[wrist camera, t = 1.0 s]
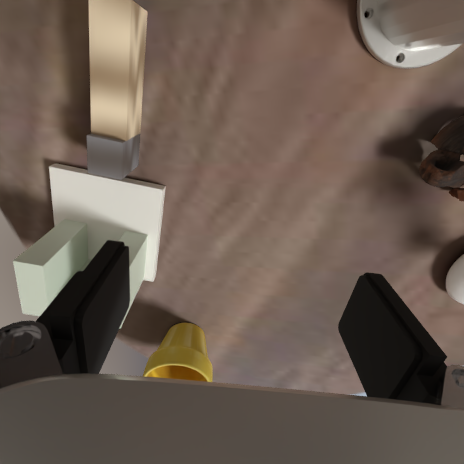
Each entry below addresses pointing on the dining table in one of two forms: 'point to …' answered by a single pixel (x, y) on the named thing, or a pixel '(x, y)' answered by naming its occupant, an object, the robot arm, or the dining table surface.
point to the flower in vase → (456, 280)
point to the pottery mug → (446, 159)
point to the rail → (115, 86)
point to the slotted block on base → (90, 233)
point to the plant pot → (181, 355)
